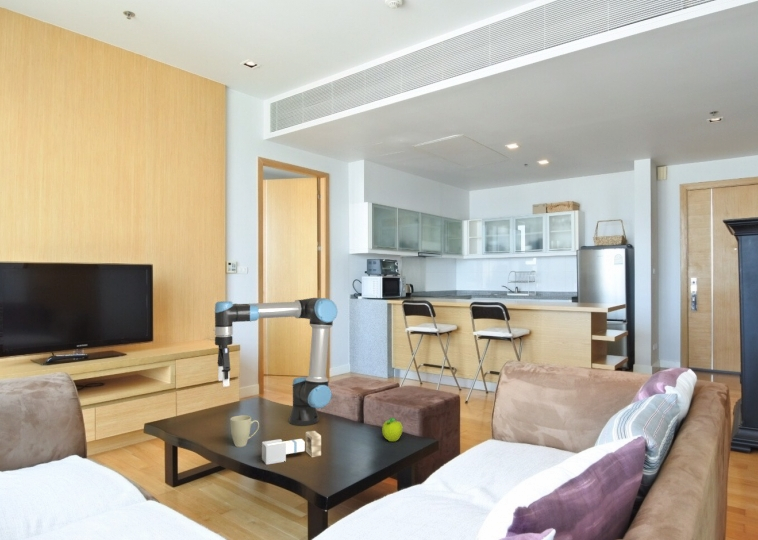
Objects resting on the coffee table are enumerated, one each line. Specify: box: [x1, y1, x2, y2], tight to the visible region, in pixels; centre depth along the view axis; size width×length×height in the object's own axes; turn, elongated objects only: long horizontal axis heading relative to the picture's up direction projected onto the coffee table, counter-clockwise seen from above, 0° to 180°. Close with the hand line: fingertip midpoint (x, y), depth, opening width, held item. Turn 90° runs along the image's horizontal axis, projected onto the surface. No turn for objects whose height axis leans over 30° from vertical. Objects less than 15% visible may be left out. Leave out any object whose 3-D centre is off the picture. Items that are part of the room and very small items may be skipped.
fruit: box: [381, 417, 404, 442], centre depth 224 cm, size 9×9×10 cm
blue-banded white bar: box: [267, 438, 306, 455], centre depth 201 cm, size 15×4×4 cm, turn 118°
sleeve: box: [261, 438, 287, 465], centre depth 199 cm, size 8×7×7 cm
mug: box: [229, 414, 260, 448], centre depth 218 cm, size 11×10×12 cm
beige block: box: [305, 430, 322, 458], centre depth 207 cm, size 4×8×8 cm, turn 28°
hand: (223, 383), depth 218 cm, fingers open, 13 cm apart
